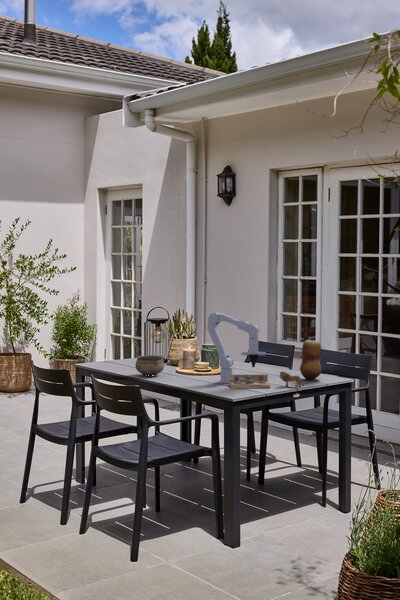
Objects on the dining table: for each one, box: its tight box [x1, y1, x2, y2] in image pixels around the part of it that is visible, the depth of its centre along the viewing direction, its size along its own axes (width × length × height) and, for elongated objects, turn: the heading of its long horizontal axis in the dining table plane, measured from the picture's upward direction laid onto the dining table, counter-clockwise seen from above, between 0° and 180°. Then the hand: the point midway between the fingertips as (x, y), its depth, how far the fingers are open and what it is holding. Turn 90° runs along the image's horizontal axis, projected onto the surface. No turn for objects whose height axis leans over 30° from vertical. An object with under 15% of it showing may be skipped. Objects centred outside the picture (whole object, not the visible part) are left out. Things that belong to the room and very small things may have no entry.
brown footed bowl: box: [135, 354, 165, 377], centre depth 517 cm, size 25×19×12 cm
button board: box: [229, 374, 271, 389], centre depth 476 cm, size 14×23×6 cm, turn 92°
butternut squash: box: [299, 339, 322, 381], centre depth 502 cm, size 14×13×25 cm
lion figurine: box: [279, 370, 305, 388], centre depth 475 cm, size 15×5×9 cm, turn 81°
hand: (253, 367), depth 483 cm, fingers closed
